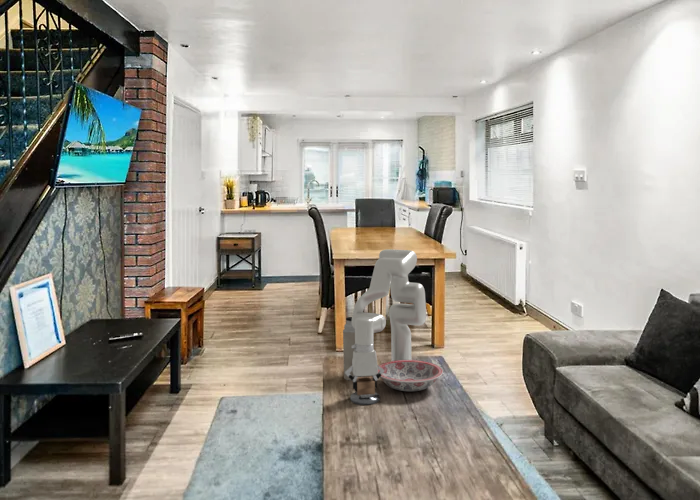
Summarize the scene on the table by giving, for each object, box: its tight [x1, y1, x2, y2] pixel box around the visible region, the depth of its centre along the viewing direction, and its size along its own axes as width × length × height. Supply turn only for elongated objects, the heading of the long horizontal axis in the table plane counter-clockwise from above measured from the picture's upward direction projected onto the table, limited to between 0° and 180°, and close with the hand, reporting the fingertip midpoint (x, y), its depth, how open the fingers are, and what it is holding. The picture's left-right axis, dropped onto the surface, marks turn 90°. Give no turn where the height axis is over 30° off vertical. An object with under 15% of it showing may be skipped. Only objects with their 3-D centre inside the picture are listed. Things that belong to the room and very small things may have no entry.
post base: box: [349, 391, 381, 406], centre depth 231 cm, size 12×12×6 cm
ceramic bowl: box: [378, 359, 444, 392], centre depth 244 cm, size 29×29×8 cm
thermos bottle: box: [342, 316, 355, 381], centre depth 257 cm, size 8×8×28 cm
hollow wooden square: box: [356, 376, 376, 395], centre depth 230 cm, size 7×7×5 cm
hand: (364, 389), depth 231 cm, fingers closed on hollow wooden square, 7 cm apart
